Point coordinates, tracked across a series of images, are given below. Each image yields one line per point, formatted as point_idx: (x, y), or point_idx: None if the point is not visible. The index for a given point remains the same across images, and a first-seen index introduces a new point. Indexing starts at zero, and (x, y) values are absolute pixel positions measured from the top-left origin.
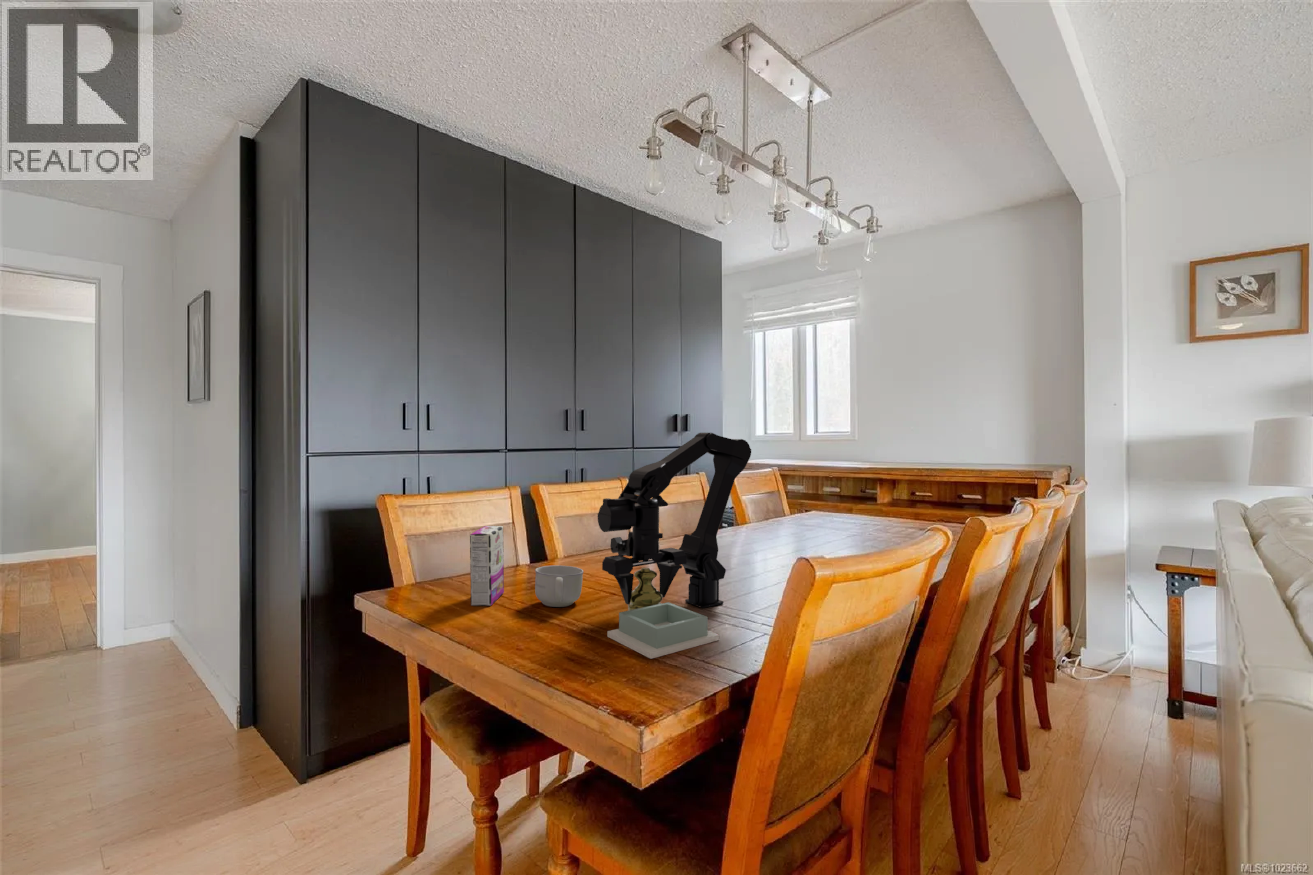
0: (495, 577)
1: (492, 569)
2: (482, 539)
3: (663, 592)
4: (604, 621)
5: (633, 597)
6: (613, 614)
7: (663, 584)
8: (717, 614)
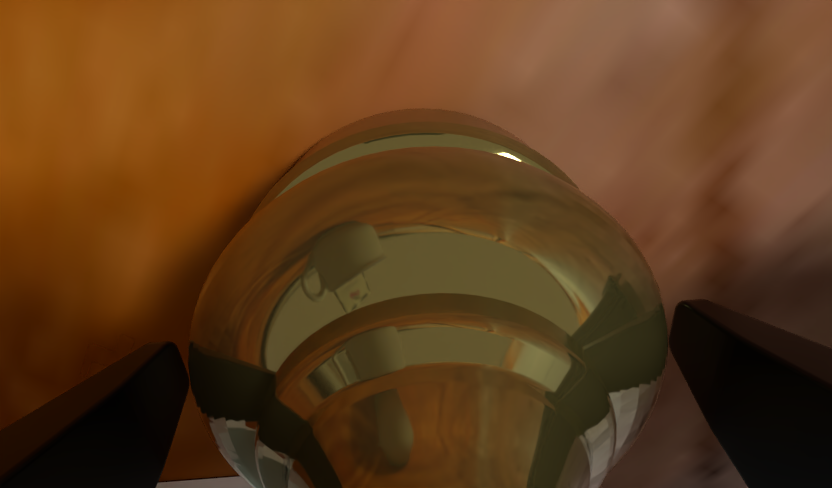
0: None
1: None
2: None
3: (704, 397)
4: (3, 244)
5: (213, 440)
6: (138, 97)
7: (802, 479)
8: None
